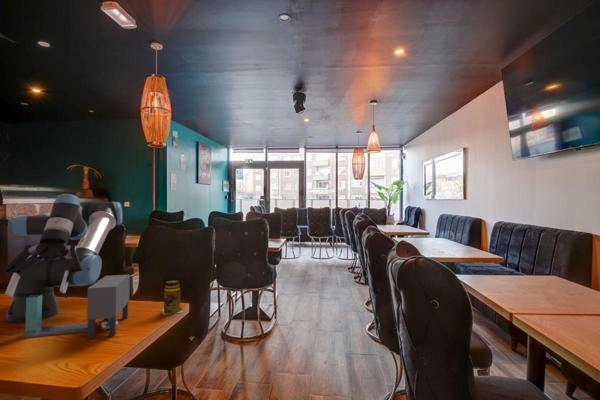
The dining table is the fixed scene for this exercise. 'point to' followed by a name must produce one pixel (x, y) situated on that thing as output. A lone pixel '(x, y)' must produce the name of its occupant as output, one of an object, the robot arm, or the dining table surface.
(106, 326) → the token
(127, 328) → the dining table surface
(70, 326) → the l-shaped tool
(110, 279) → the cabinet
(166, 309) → the condiment
